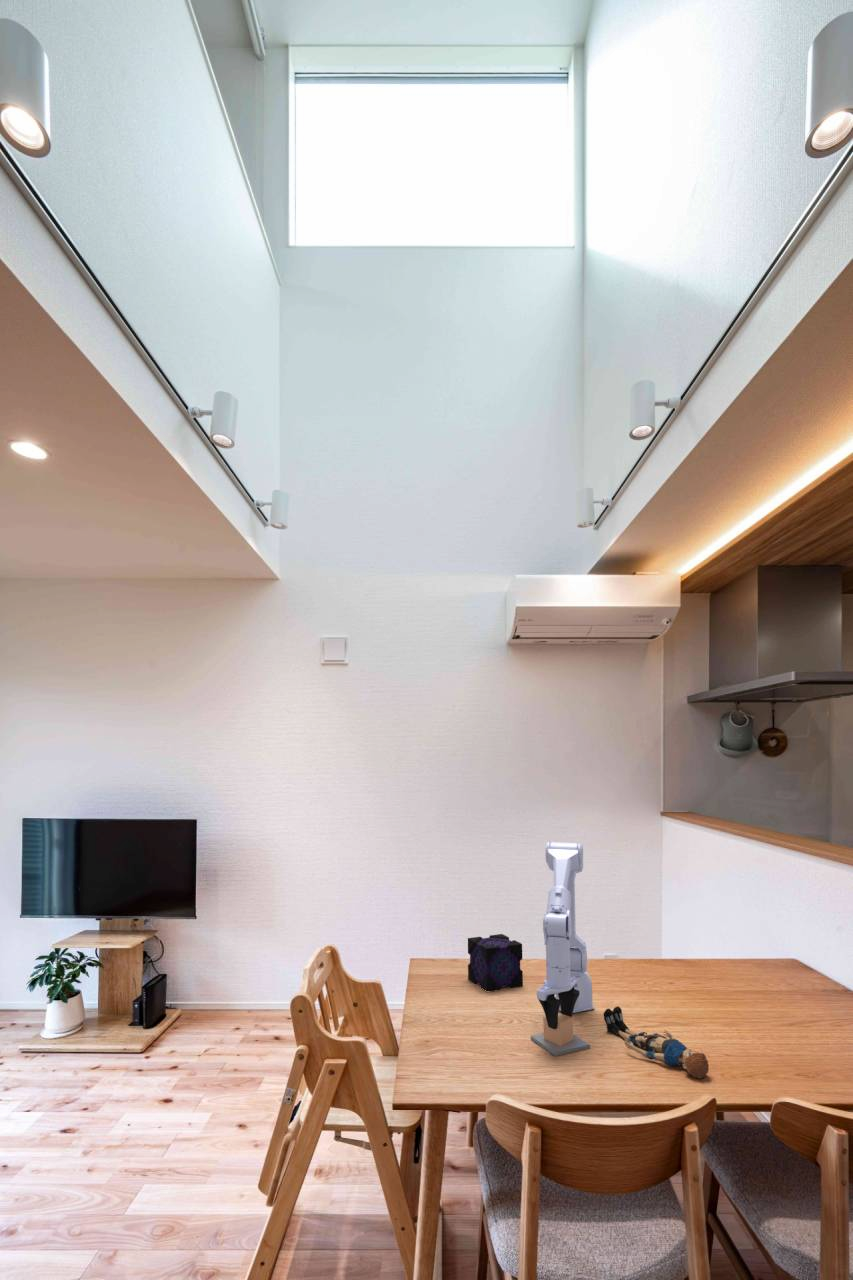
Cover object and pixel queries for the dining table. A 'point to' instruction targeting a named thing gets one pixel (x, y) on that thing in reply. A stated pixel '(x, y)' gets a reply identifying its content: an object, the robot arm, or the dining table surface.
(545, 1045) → the plate
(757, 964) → the dining table surface
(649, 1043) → the figurine
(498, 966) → the energy cube
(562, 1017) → the terracotta cube
